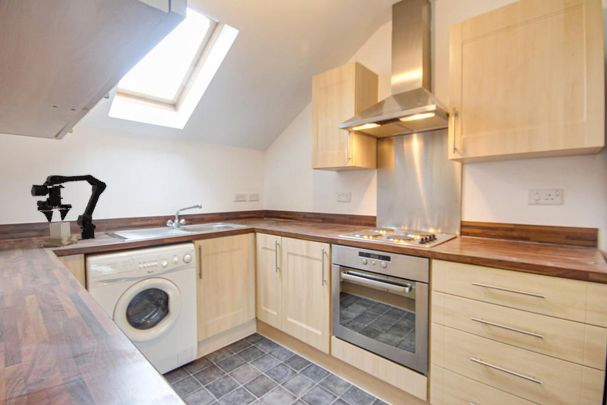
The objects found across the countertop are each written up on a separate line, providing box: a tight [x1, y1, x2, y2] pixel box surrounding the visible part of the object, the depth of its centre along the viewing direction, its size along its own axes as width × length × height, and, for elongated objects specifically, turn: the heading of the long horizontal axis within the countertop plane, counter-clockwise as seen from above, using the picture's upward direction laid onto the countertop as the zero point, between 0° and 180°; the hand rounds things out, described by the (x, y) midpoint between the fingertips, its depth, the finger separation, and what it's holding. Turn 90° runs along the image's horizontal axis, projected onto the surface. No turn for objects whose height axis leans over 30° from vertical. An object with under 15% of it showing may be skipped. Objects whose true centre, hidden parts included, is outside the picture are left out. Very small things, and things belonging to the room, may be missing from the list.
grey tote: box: [49, 221, 71, 239], centre depth 170 cm, size 6×6×12 cm
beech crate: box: [42, 235, 79, 248], centre depth 171 cm, size 11×11×4 cm
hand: (56, 221), depth 177 cm, fingers open, 9 cm apart
